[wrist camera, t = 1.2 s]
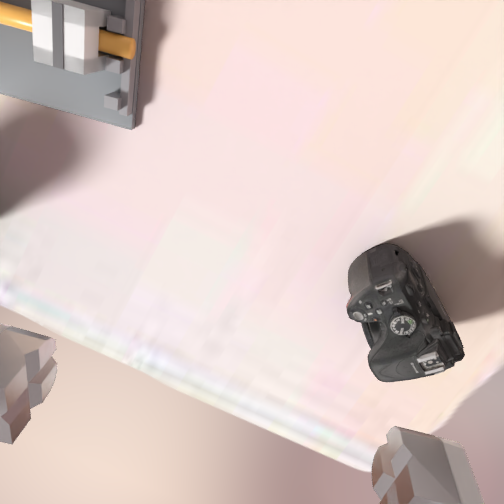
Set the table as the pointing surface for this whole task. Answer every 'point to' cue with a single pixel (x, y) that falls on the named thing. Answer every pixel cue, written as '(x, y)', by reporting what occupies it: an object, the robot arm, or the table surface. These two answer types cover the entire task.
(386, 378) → the camera
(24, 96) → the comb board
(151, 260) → the table surface
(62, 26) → the sleeve
